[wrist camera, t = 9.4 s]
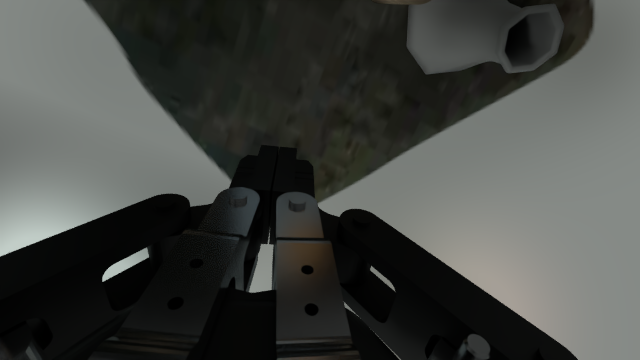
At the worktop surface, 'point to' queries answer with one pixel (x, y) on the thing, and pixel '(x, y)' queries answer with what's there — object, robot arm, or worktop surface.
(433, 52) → the flask
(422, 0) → the outer post
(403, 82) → the worktop surface
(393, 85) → the worktop surface
